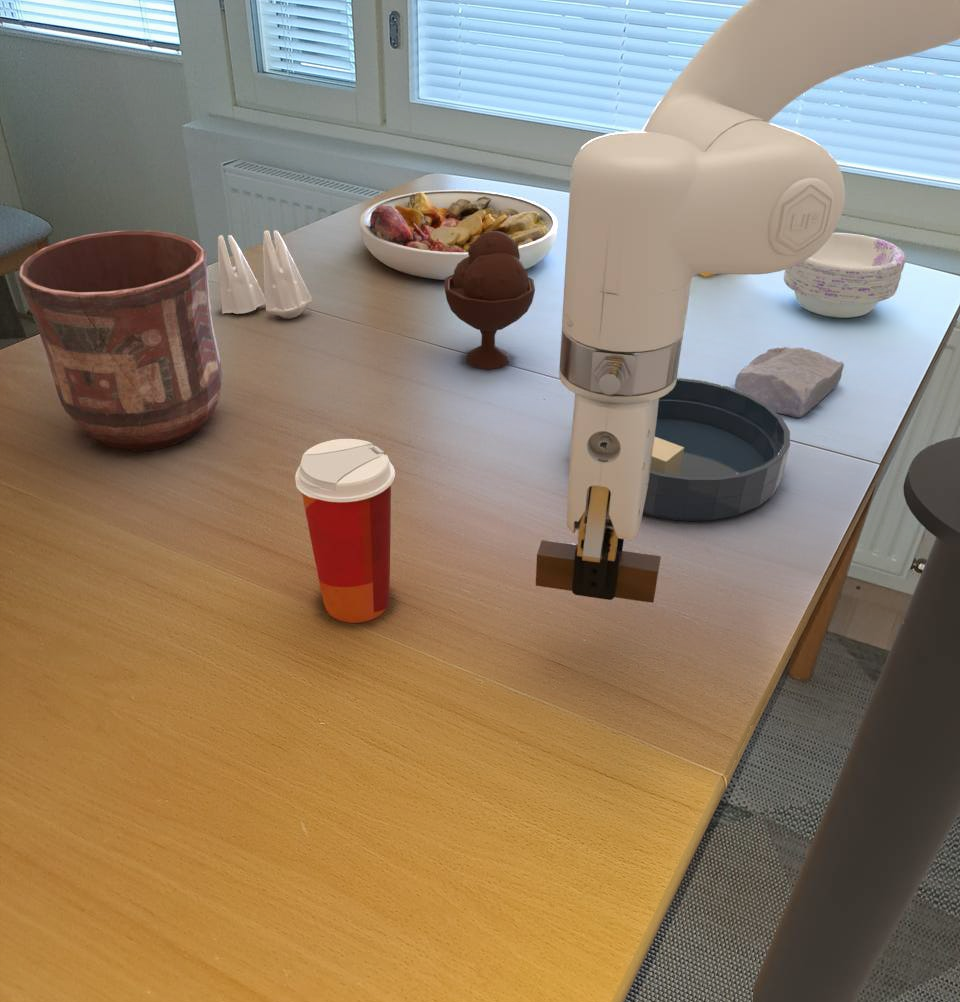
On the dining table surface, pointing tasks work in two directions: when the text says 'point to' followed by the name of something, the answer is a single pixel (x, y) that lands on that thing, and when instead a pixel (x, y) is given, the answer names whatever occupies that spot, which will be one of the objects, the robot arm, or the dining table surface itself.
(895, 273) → the paper bowls
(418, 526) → the dining table surface
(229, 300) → the shaker set
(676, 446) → the block
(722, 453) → the bowl
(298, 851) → the dining table surface
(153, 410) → the pottery
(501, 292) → the ice cream bowl
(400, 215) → the bowl
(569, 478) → the robot arm
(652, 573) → the brown wooden stick
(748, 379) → the stone block
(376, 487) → the paper cup
